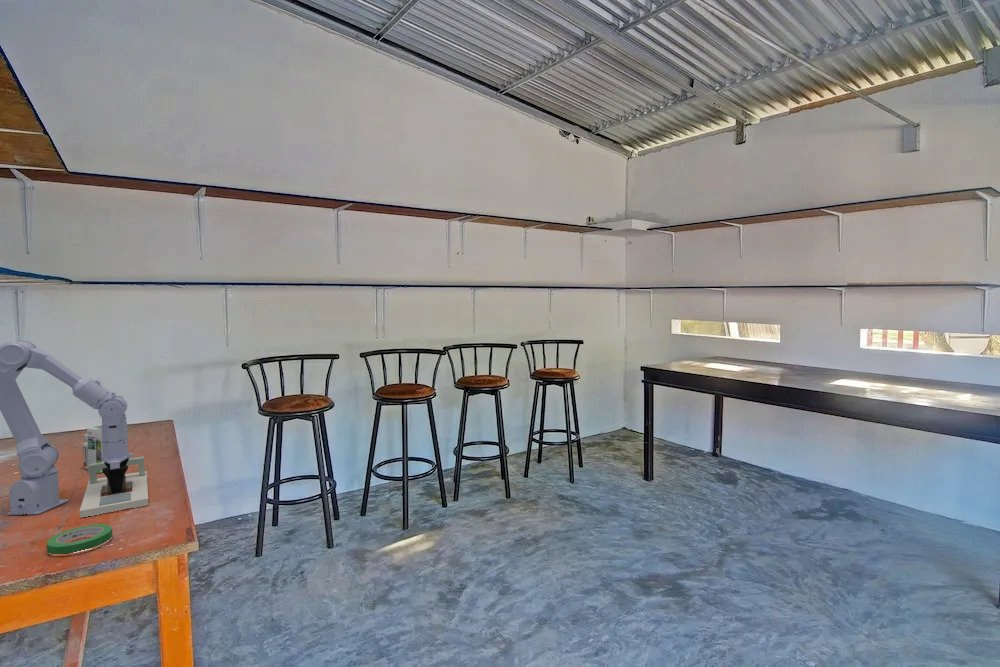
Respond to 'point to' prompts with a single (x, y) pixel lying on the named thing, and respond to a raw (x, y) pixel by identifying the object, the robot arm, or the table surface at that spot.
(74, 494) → the table surface
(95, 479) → the sliding bridge
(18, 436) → the robot arm
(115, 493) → the walnut block
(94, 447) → the syrup box
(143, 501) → the puzzle board
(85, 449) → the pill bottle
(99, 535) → the tape roll
